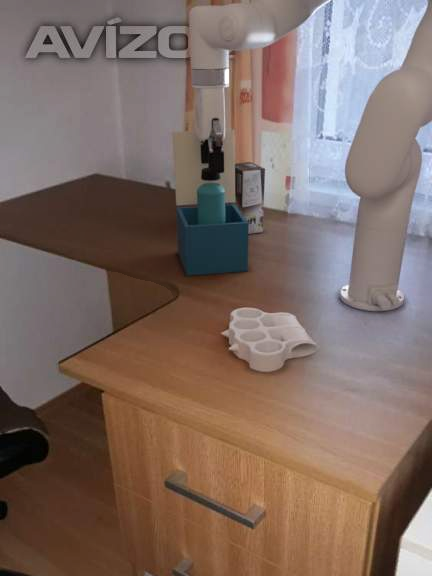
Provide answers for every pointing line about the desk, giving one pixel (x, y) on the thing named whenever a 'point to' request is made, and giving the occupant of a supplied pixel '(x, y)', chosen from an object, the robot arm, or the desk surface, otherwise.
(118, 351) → the desk surface
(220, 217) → the beverage bottle
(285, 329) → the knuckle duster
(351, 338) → the desk surface
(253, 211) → the coffee box
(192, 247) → the box
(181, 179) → the cooler lid
